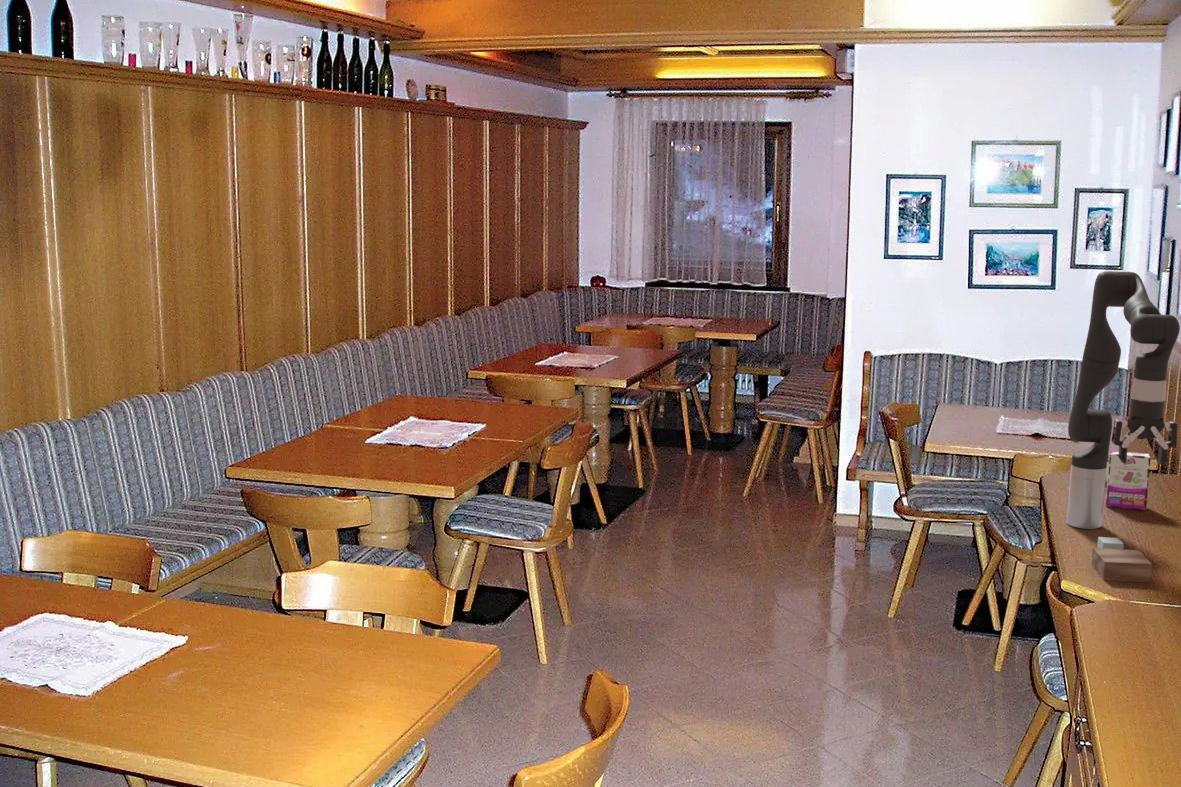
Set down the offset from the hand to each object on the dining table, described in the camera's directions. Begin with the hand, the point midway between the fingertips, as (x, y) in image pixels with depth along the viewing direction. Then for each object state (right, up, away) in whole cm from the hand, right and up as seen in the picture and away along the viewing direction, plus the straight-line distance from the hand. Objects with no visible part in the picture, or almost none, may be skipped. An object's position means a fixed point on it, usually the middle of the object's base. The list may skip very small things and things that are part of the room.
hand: (1141, 462), depth 291 cm
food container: (+32, -14, +85) cm, 92 cm away
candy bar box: (+26, -17, +67) cm, 74 cm away
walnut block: (-1, -28, +9) cm, 30 cm away
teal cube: (+1, -26, +20) cm, 33 cm away
